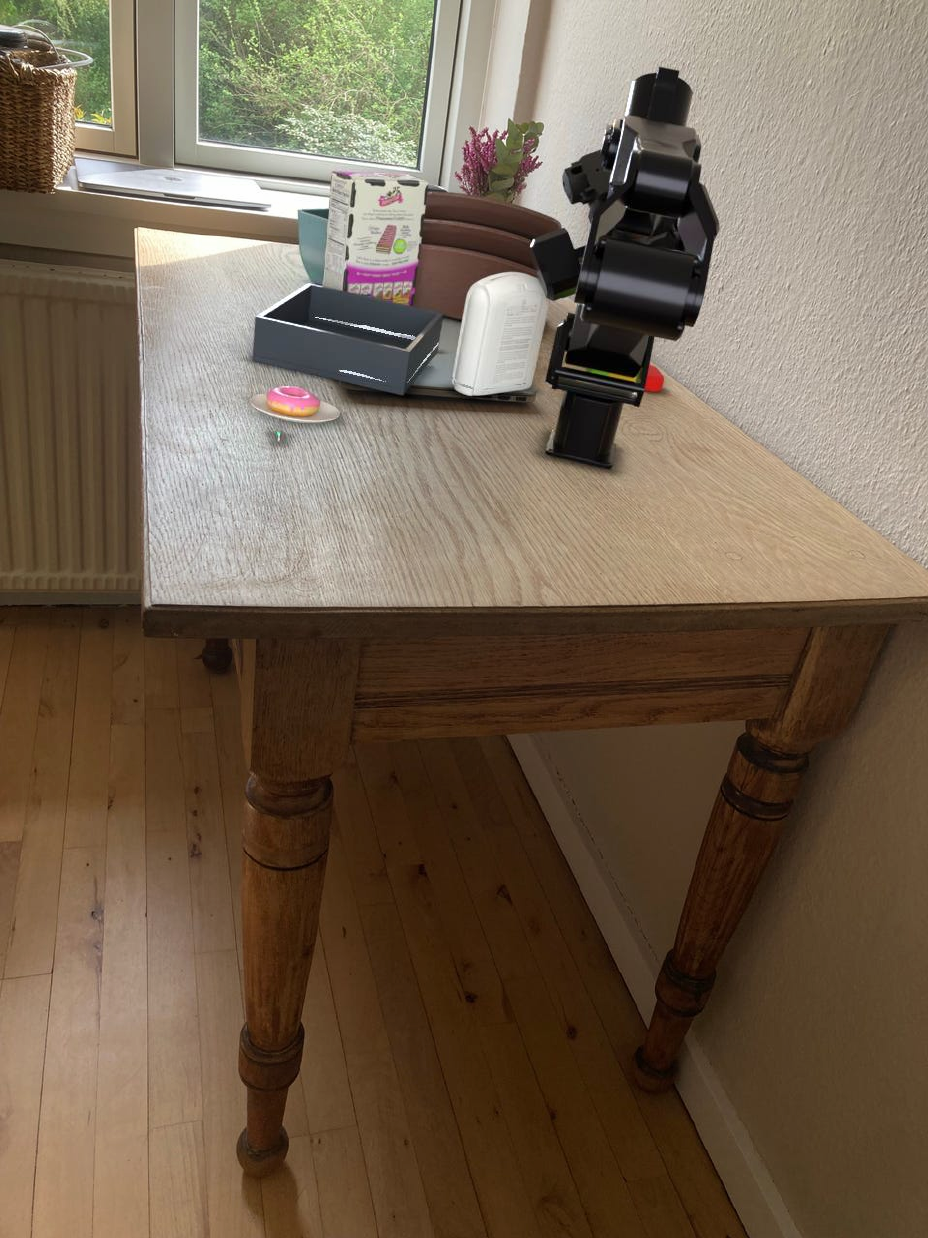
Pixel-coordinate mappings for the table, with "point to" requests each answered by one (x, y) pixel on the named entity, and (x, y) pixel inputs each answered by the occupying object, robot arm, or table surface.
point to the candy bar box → (374, 234)
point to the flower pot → (313, 241)
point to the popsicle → (652, 382)
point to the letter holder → (472, 246)
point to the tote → (347, 337)
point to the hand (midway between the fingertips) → (613, 271)
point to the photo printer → (500, 334)
